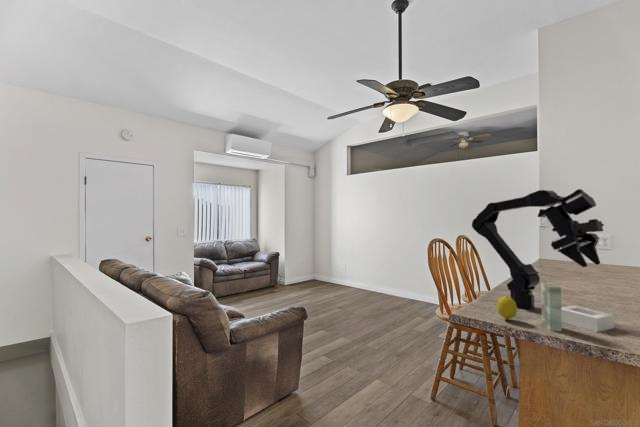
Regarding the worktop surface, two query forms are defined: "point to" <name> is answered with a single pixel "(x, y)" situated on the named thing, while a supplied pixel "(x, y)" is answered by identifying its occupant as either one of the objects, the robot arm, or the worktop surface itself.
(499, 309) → the lemon
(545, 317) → the slat
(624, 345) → the worktop surface
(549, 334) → the worktop surface
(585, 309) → the white rectangular frame
